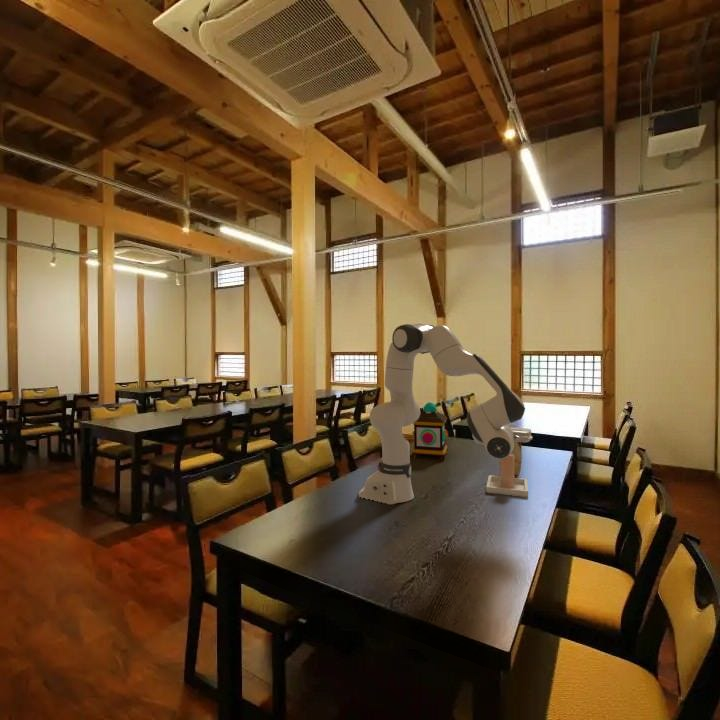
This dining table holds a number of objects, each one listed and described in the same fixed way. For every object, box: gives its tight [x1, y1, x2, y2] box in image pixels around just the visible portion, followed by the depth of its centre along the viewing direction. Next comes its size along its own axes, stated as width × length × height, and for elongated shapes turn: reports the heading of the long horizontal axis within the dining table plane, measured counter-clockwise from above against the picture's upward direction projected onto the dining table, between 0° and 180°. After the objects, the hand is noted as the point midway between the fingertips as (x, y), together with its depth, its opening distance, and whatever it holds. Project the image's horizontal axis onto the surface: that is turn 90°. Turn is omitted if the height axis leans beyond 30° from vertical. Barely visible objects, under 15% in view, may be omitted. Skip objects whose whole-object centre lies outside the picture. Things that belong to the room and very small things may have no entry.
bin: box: [485, 474, 529, 498], centre depth 172 cm, size 16×16×2 cm
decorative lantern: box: [411, 401, 449, 462], centre depth 224 cm, size 20×20×30 cm
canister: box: [500, 454, 515, 489], centre depth 172 cm, size 6×6×14 cm
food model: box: [498, 441, 523, 478], centre depth 188 cm, size 10×7×20 cm
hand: (501, 428), depth 153 cm, fingers open, 8 cm apart
